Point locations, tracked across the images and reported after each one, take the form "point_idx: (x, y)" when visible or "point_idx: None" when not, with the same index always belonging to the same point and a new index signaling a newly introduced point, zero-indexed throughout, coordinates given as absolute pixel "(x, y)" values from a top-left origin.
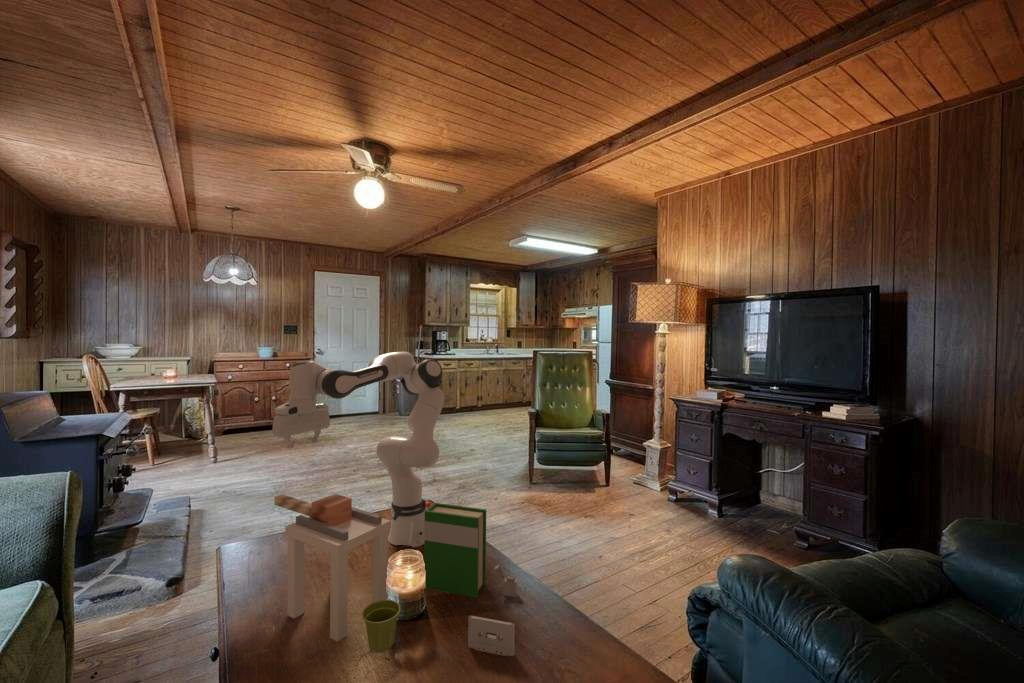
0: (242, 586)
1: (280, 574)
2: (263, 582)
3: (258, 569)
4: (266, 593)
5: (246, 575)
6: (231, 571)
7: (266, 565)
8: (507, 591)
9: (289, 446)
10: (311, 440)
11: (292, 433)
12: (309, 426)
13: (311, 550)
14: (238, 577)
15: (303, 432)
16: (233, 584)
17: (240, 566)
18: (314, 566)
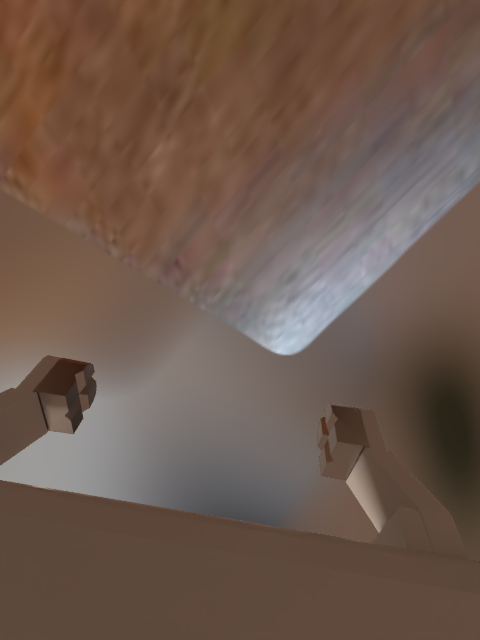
0: (434, 182)
1: (363, 138)
2: (409, 146)
3: (355, 216)
4: (460, 84)
5: (386, 218)
6: (377, 264)
7: (333, 214)
8: None
9: (375, 426)
10: (84, 409)
11: (434, 581)
12: (58, 610)
13: (231, 169)
14: (398, 227)
15: (216, 522)
16: (429, 210)
17: (353, 265)
18: (300, 76)
